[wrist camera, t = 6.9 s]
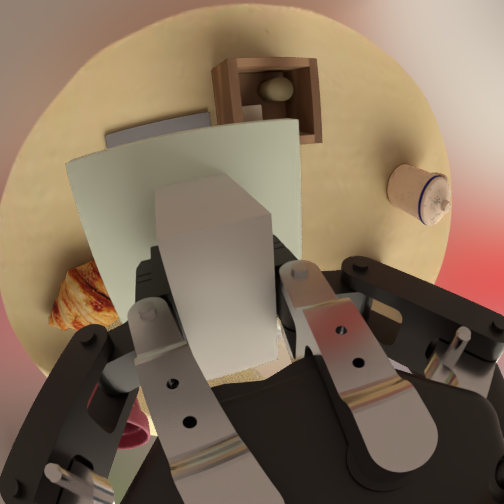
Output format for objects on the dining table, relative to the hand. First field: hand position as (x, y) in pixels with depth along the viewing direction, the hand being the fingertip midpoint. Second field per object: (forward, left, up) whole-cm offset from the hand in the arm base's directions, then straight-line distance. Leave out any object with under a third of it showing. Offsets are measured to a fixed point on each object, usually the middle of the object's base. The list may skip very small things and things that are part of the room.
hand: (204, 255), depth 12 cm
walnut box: (-11, -6, -25) cm, 28 cm away
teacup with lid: (-41, +9, -26) cm, 49 cm away
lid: (0, 0, -3) cm, 3 cm away
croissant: (+16, +15, -26) cm, 34 cm away
